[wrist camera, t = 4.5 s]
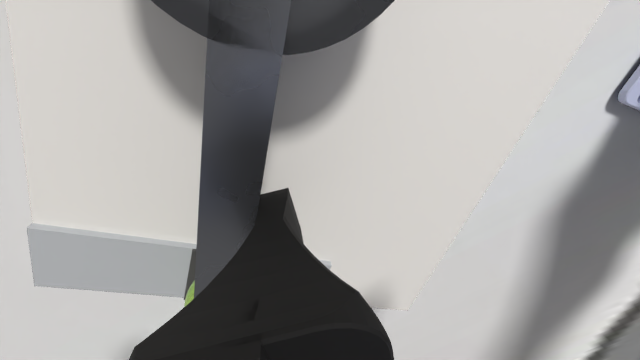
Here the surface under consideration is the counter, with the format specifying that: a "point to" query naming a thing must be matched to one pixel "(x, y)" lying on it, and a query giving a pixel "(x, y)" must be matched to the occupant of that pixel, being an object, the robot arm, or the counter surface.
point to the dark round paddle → (248, 102)
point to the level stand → (276, 135)
